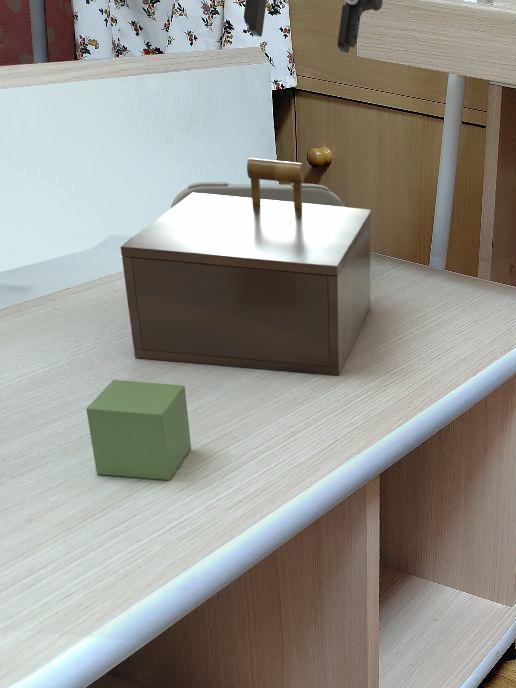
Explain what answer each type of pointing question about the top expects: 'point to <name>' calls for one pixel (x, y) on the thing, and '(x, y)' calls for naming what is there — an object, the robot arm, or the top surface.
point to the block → (139, 429)
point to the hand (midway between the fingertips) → (298, 41)
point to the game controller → (263, 192)
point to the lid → (255, 228)
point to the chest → (248, 313)
